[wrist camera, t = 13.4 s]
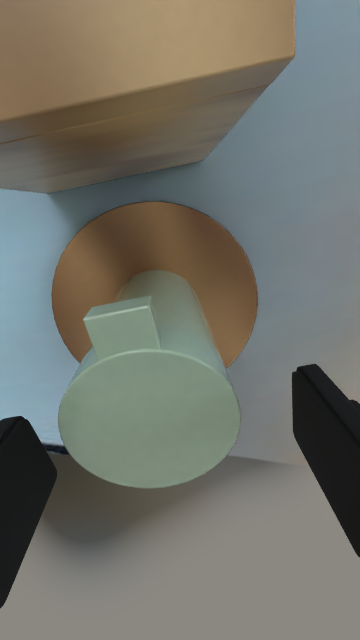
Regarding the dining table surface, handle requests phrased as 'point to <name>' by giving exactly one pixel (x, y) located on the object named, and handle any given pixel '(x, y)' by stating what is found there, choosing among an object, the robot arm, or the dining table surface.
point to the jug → (150, 388)
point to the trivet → (156, 254)
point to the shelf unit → (128, 83)
